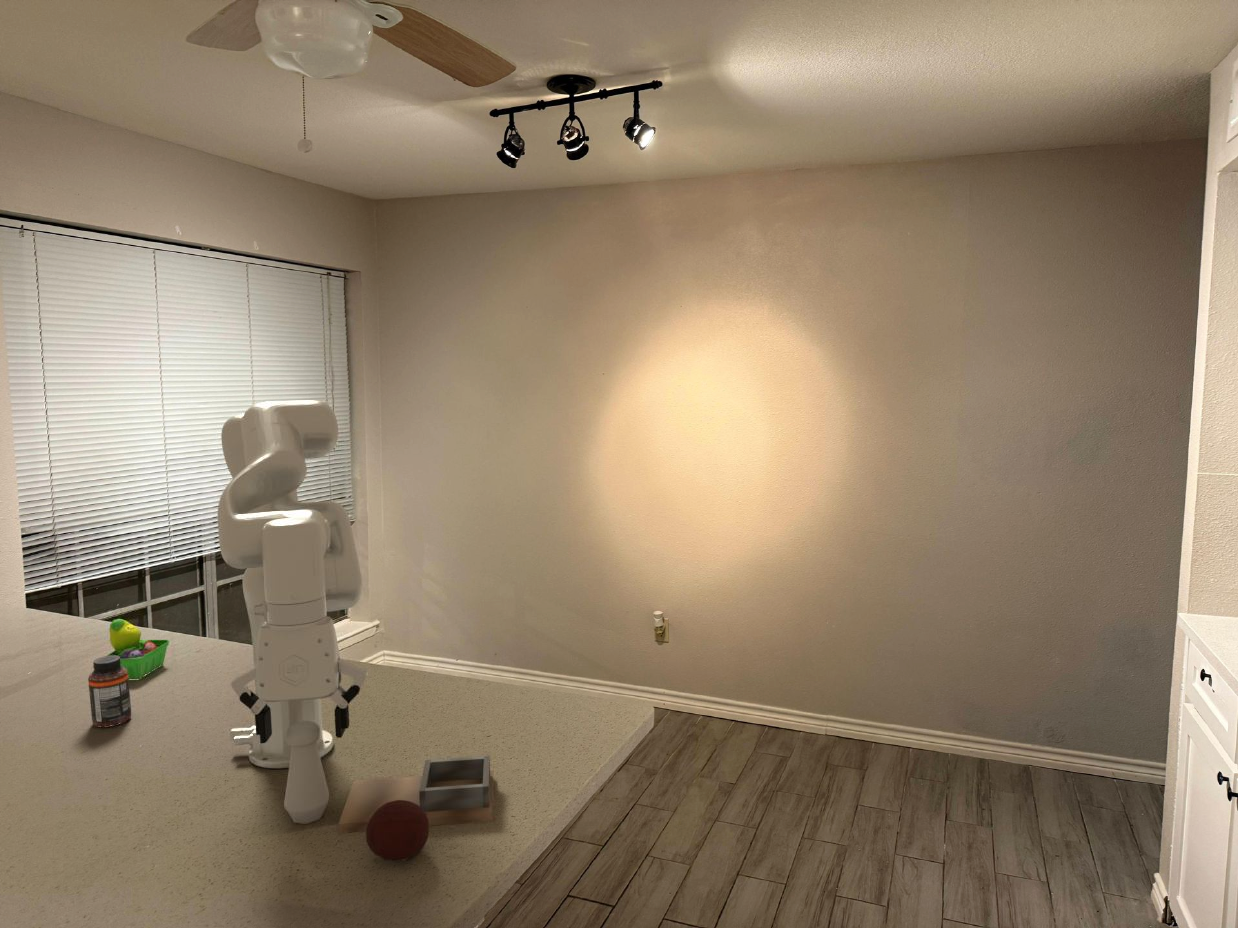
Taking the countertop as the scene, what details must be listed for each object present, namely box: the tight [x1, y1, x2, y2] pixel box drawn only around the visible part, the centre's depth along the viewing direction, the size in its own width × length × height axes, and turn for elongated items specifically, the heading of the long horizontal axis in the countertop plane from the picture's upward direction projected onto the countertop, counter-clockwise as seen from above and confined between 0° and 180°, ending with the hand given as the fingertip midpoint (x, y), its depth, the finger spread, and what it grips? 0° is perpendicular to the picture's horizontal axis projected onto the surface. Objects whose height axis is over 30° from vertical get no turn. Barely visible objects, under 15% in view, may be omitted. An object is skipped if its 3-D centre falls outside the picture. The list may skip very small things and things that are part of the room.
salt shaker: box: [283, 721, 330, 825], centre depth 117 cm, size 6×6×13 cm
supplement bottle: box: [87, 655, 132, 728], centre depth 149 cm, size 6×6×11 cm
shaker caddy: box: [337, 755, 494, 834], centre depth 120 cm, size 20×12×4 cm, turn 98°
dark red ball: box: [365, 800, 430, 862], centre depth 107 cm, size 7×8×7 cm
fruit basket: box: [106, 618, 170, 679], centre depth 173 cm, size 11×9×11 cm
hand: (303, 736), depth 115 cm, fingers open, 9 cm apart
